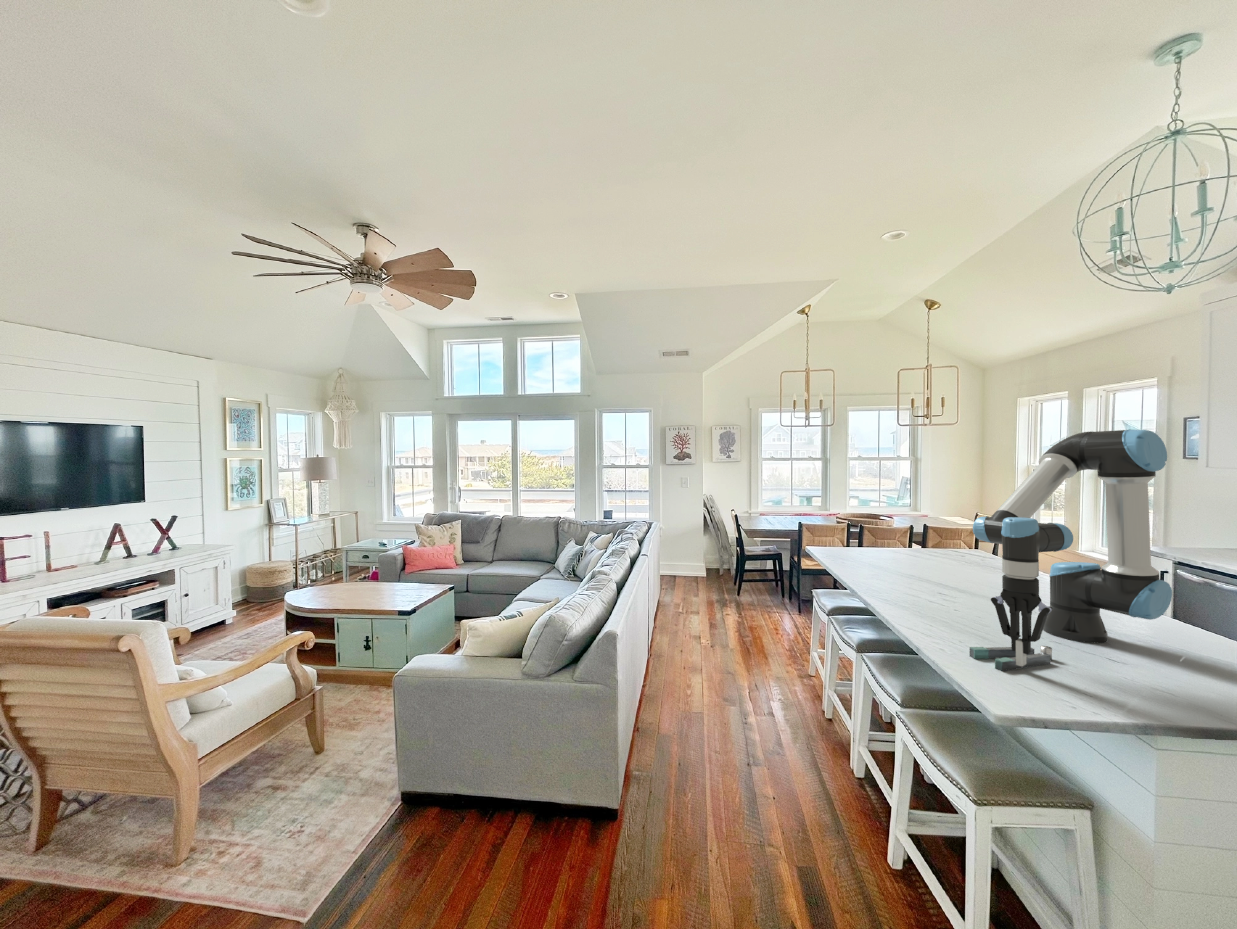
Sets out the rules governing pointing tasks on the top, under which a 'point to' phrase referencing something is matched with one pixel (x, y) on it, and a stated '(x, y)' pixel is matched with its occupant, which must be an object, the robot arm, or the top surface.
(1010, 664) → the tongs free arm
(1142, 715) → the top surface
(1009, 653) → the arm
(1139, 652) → the top surface
